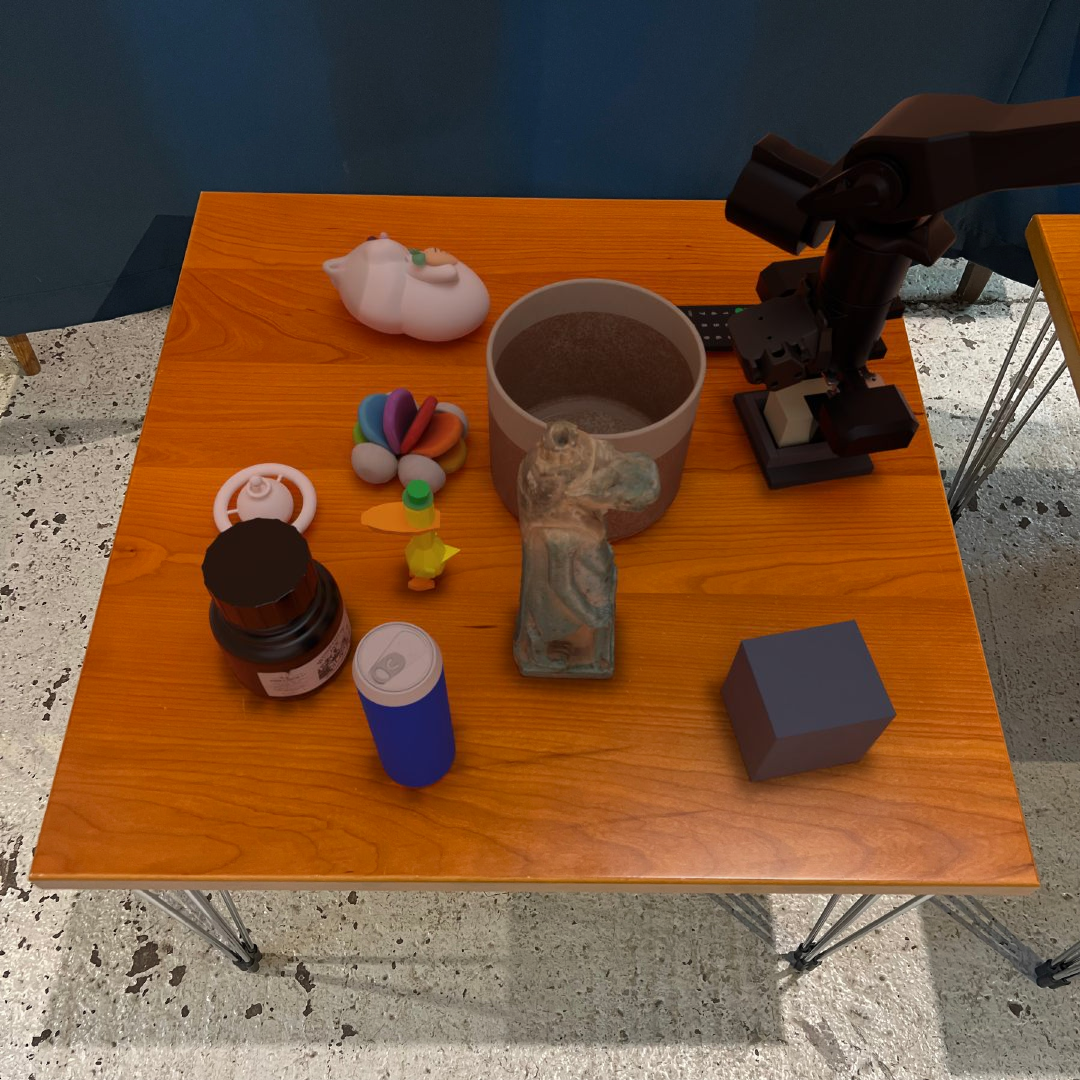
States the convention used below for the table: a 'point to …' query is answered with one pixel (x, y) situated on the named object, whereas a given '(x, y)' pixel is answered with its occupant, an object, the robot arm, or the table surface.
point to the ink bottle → (275, 610)
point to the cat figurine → (409, 290)
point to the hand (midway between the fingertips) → (805, 422)
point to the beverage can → (406, 702)
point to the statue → (573, 549)
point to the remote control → (713, 324)
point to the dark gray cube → (805, 700)
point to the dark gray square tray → (792, 450)
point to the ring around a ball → (265, 496)
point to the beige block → (792, 412)
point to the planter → (595, 381)
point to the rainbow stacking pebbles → (408, 439)
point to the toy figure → (414, 532)
